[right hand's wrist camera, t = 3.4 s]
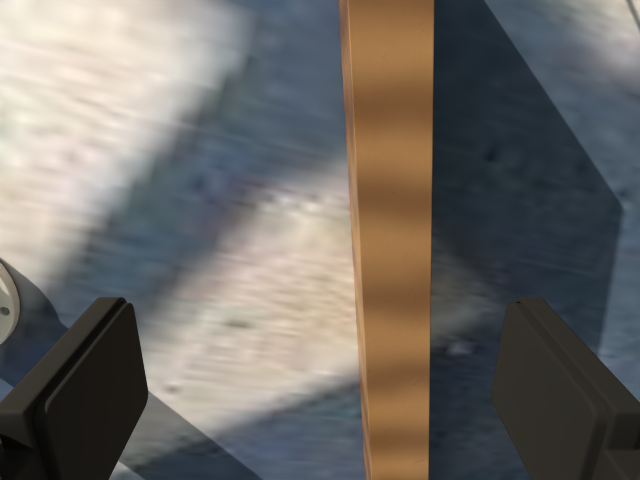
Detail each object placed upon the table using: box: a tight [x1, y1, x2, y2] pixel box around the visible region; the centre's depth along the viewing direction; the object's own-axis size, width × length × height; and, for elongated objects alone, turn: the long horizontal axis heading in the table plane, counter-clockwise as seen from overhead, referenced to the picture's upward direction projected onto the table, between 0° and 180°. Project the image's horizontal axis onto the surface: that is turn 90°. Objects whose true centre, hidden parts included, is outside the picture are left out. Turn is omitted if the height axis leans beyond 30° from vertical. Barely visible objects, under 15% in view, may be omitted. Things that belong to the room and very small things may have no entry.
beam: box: [339, 0, 434, 480], centre depth 41 cm, size 80×5×8 cm, turn 4°
